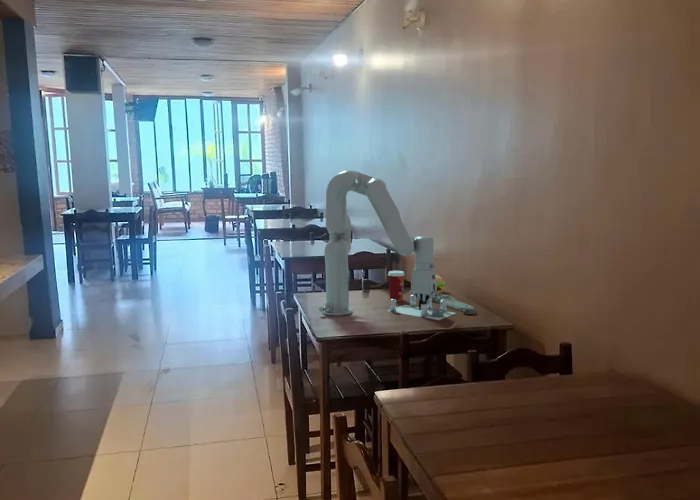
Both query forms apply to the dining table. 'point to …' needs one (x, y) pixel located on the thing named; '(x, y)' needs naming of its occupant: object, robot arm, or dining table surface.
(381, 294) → the dining table surface
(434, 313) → the grey faceted hexagonal block
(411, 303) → the spacers
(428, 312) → the board
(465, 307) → the elongated rock
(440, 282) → the hamburger
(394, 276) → the paper cup
